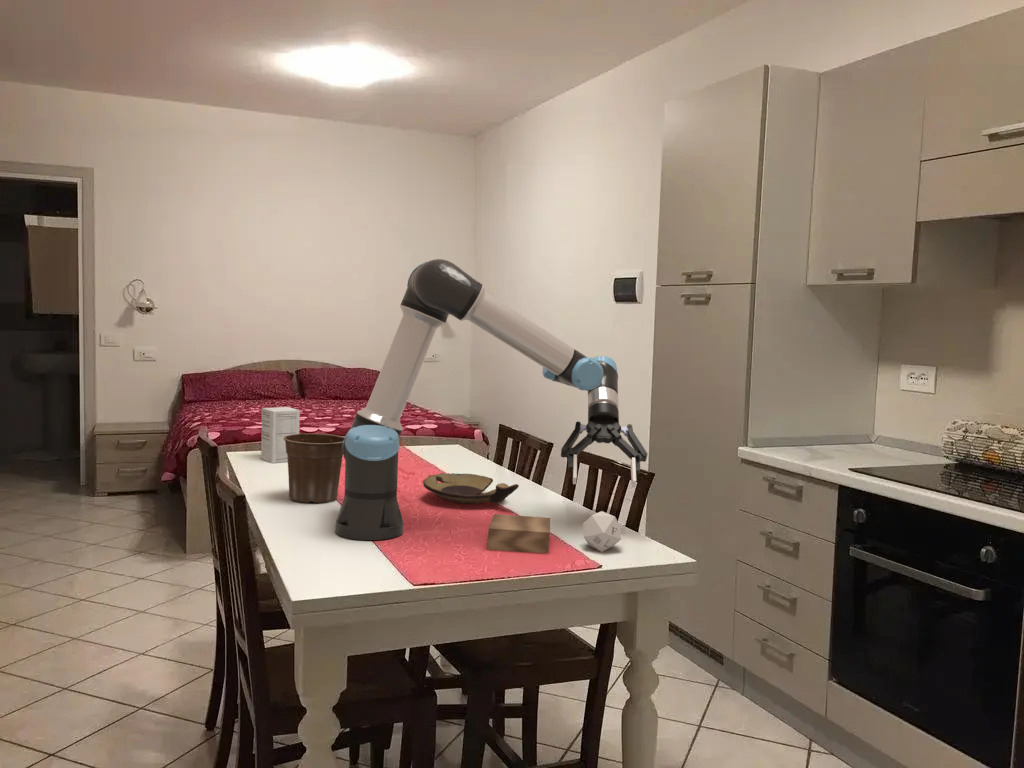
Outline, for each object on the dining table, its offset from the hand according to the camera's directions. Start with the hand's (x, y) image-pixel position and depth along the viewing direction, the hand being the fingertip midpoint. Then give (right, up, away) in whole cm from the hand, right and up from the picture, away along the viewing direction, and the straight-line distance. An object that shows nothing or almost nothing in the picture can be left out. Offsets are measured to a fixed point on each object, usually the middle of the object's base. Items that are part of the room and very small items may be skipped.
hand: (604, 482), depth 189 cm
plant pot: (-73, -8, +26) cm, 78 cm away
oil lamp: (-33, -9, +30) cm, 46 cm away
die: (-2, -14, -8) cm, 16 cm away
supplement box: (-97, -2, +78) cm, 124 cm away
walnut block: (-20, -13, -7) cm, 25 cm away
